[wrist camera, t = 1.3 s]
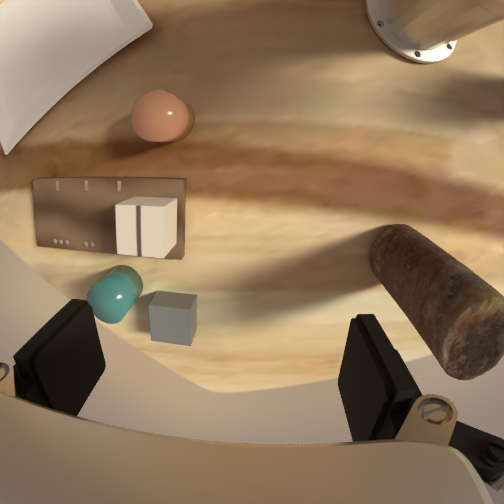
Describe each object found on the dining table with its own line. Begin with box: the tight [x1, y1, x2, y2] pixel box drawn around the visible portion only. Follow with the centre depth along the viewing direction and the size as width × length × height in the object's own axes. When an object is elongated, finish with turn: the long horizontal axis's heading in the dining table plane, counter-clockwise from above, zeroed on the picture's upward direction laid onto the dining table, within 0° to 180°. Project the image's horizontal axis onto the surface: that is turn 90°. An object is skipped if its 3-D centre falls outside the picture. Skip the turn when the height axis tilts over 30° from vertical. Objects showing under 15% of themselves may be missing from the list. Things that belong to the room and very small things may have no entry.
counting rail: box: [33, 177, 186, 260], centre depth 35 cm, size 9×21×2 cm, turn 86°
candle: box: [370, 224, 504, 380], centre depth 26 cm, size 8×7×20 cm
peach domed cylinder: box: [131, 90, 194, 142], centre depth 29 cm, size 5×5×6 cm
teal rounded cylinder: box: [87, 265, 143, 324], centre depth 35 cm, size 5×5×6 cm
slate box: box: [148, 291, 197, 346], centre depth 37 cm, size 5×5×4 cm
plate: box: [0, 0, 153, 155], centre depth 27 cm, size 26×26×2 cm
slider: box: [115, 196, 177, 258], centre depth 31 cm, size 5×5×5 cm
